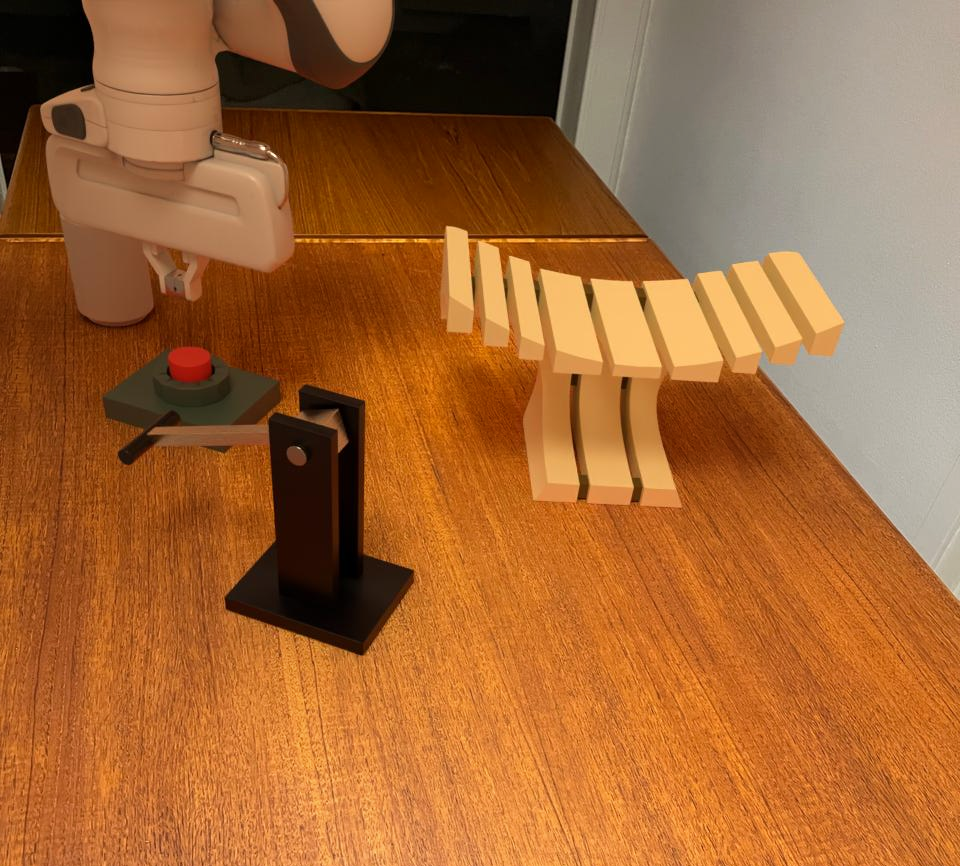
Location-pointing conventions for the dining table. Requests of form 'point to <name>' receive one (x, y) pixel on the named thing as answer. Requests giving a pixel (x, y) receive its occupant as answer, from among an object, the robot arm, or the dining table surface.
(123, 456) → the lever
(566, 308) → the slatted curved stool
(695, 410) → the dining table surface
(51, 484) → the dining table surface
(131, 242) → the can
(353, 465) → the bracket
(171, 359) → the button
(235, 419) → the box
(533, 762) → the dining table surface
